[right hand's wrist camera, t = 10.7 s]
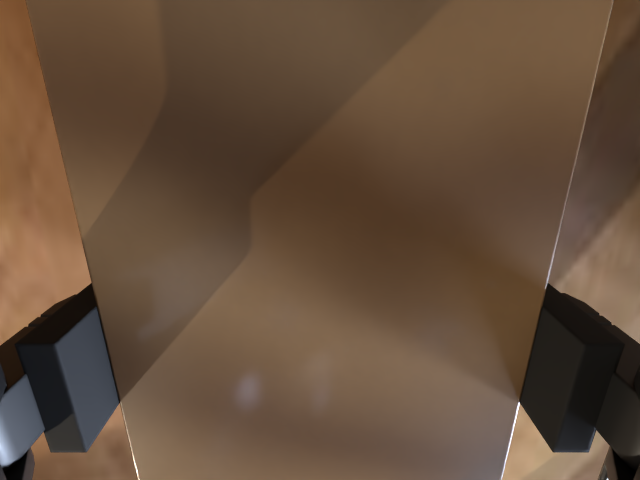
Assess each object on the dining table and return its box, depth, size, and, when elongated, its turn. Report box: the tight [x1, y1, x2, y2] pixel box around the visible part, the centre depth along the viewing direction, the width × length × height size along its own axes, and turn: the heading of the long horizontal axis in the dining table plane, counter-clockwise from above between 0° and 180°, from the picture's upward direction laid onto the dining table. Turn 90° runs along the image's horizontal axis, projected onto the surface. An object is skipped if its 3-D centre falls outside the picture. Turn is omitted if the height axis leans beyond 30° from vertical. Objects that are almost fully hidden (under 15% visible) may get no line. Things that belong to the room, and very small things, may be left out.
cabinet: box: [26, 0, 614, 480], centre depth 11 cm, size 19×10×10 cm, turn 0°
